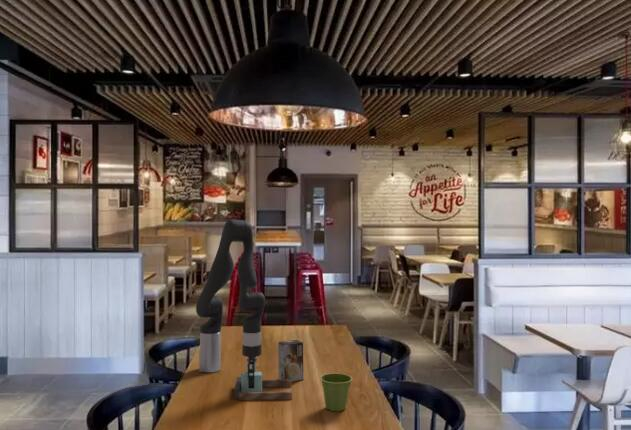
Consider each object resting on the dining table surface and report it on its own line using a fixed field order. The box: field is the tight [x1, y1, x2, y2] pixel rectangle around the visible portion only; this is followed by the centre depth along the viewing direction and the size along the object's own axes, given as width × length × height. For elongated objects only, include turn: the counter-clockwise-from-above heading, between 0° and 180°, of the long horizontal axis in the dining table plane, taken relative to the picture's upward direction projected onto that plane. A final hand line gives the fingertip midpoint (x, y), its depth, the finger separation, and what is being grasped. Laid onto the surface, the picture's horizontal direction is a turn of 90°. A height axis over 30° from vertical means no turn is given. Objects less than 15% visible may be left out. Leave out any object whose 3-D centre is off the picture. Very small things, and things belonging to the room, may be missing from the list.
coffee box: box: [277, 339, 304, 383], centre depth 243 cm, size 9×6×16 cm
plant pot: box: [319, 372, 353, 412], centre depth 208 cm, size 12×12×11 cm
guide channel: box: [233, 376, 293, 401], centre depth 226 cm, size 22×16×4 cm
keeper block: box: [240, 371, 263, 392], centre depth 226 cm, size 8×5×7 cm, turn 93°
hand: (251, 385), depth 225 cm, fingers open, 5 cm apart
